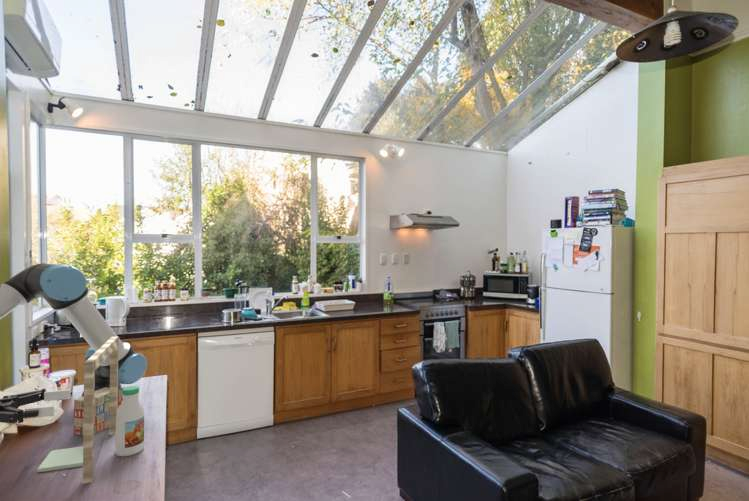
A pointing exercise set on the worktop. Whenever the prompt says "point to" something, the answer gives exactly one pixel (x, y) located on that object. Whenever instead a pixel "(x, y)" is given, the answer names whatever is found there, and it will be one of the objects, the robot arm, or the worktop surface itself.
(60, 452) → the sage mat
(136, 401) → the milk bottle
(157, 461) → the worktop surface
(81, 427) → the stack of blocks
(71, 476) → the worktop surface
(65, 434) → the worktop surface
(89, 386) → the door frame
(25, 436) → the worktop surface
